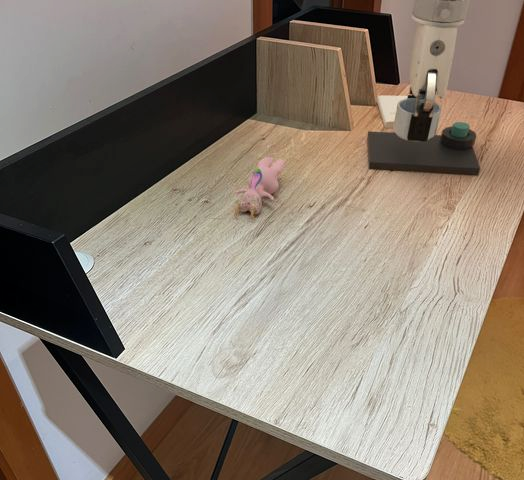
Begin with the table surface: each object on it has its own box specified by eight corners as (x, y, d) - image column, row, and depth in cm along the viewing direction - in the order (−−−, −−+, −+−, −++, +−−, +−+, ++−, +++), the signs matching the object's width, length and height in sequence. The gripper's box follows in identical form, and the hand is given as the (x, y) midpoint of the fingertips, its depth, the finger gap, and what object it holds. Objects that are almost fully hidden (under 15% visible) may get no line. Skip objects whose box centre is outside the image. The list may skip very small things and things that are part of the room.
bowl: (432, 126, 97) (438, 99, 94) (437, 144, 92) (443, 116, 89) (391, 123, 97) (396, 96, 94) (393, 141, 92) (399, 113, 89)
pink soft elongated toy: (264, 231, 84) (295, 171, 93) (262, 198, 80) (295, 138, 88) (225, 222, 86) (259, 164, 94) (221, 190, 81) (257, 132, 89)
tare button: (465, 132, 100) (468, 122, 99) (468, 139, 98) (470, 129, 97) (449, 131, 100) (452, 121, 99) (451, 138, 99) (454, 128, 97)
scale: (468, 143, 103) (473, 127, 101) (480, 176, 94) (485, 159, 92) (366, 137, 104) (369, 121, 102) (368, 169, 96) (371, 152, 93)
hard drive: (416, 104, 116) (428, 130, 107) (376, 103, 116) (384, 129, 107) (418, 95, 115) (430, 121, 106) (377, 95, 115) (385, 120, 106)
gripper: (476, 27, 75) (444, 155, 88) (458, -7, 88) (432, 110, 100) (418, 24, 76) (394, 152, 88) (409, -9, 88) (389, 107, 101)
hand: (414, 129), depth 94 cm, fingers closed on bowl, 7 cm apart
